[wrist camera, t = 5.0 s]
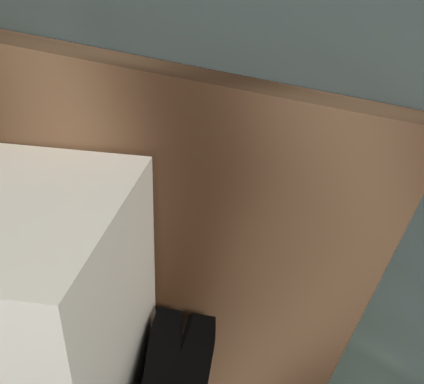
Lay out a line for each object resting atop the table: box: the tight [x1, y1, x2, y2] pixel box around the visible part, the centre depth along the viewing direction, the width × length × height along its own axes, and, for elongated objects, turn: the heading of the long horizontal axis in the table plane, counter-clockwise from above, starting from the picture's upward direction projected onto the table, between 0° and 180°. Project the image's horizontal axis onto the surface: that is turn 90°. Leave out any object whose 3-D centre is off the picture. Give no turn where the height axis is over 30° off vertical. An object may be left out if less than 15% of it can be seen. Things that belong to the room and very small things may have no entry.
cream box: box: [0, 143, 156, 384], centre depth 8 cm, size 5×8×4 cm, turn 177°
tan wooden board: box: [0, 29, 424, 384], centre depth 11 cm, size 12×13×2 cm
